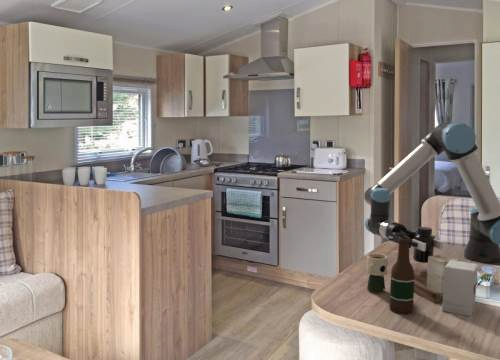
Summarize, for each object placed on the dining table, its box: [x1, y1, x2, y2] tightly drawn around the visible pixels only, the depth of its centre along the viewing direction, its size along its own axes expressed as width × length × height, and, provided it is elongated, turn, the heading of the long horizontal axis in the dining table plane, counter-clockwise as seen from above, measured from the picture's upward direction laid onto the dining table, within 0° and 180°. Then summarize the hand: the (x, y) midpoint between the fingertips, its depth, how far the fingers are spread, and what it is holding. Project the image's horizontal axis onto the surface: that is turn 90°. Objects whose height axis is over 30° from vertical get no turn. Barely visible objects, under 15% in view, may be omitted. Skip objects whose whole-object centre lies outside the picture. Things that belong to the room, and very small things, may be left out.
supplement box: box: [441, 260, 479, 317], centre depth 159 cm, size 9×9×15 cm
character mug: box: [366, 252, 389, 294], centre depth 175 cm, size 11×7×13 cm, turn 142°
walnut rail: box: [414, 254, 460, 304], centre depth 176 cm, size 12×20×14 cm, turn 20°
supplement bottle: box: [412, 226, 435, 264], centre depth 178 cm, size 7×7×12 cm
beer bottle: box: [389, 237, 415, 315], centre depth 158 cm, size 8×8×24 cm
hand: (433, 246), depth 173 cm, fingers closed on supplement bottle, 7 cm apart
